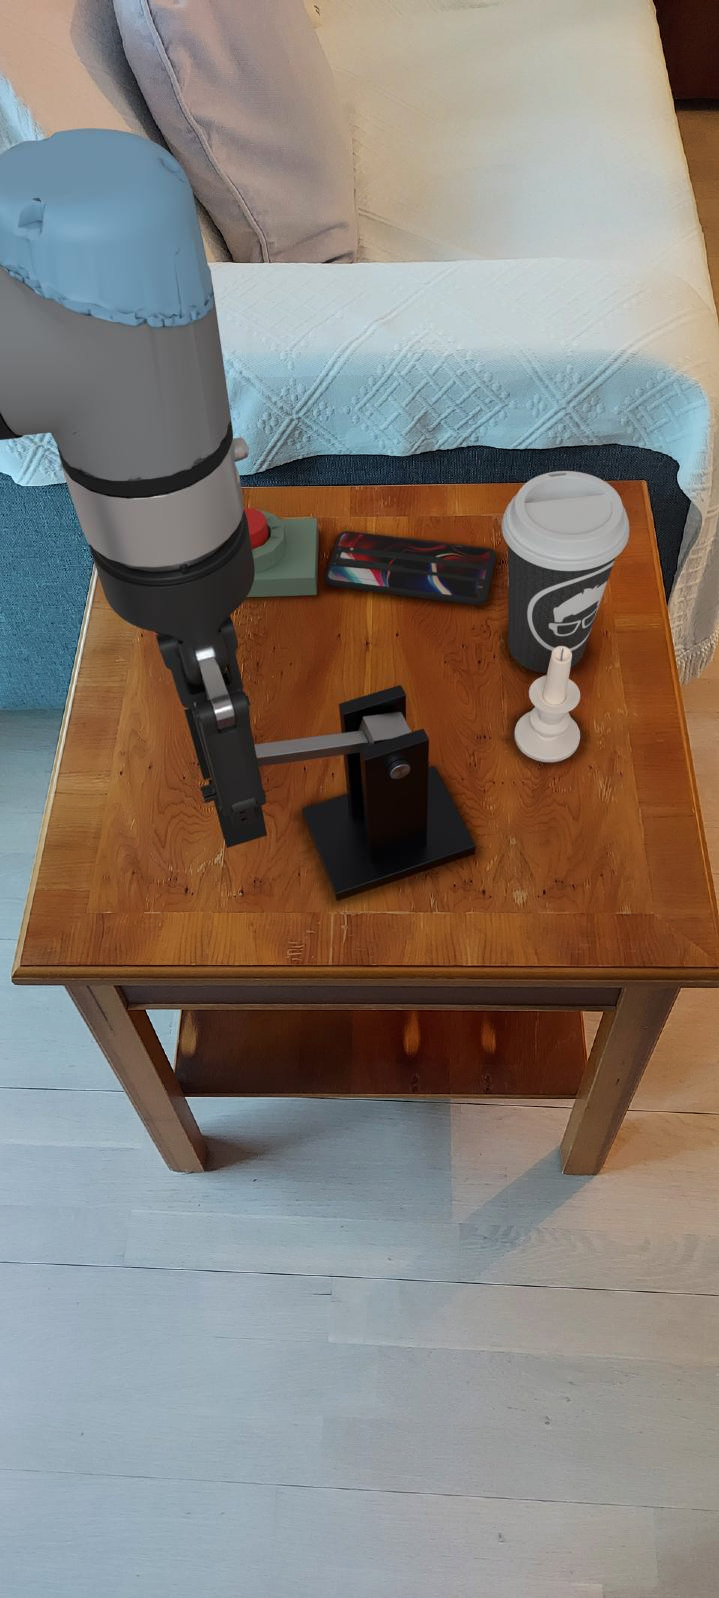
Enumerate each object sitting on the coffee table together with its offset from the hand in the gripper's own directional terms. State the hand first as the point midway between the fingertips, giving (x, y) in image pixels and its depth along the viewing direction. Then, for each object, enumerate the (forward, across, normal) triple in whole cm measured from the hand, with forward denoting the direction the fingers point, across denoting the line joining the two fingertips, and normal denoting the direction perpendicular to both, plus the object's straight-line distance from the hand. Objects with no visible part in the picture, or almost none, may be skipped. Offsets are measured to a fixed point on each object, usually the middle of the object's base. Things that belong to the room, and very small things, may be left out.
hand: (233, 802), depth 66 cm
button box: (+10, +32, -10) cm, 35 cm away
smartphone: (+10, +26, -23) cm, 36 cm away
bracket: (+10, 0, -11) cm, 15 cm away
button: (+7, +32, -10) cm, 34 cm away
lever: (-2, 0, -5) cm, 6 cm away
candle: (+10, +4, -26) cm, 28 cm away
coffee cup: (+10, +13, -30) cm, 35 cm away
